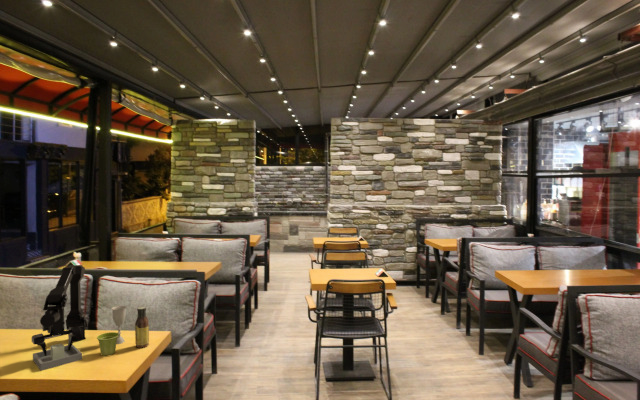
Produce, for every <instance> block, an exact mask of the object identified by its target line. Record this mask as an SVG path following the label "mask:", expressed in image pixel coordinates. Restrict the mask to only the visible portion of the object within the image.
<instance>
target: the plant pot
mask: <svg viewBox="0 0 640 400" xmlns="http://www.w3.org/2000/svg"><path fill="white" fill-rule="evenodd" d="M118 336H119V333H118V332H116V331H111V332H110V331H109V332H105V333H100V334H98V335H97V336H96V339H97V341H98V344H99V345H98V346H99V350H100V355H101V356H110V355H113V354H115V353H116V349H117V344H116V343H117V338H118Z"/></svg>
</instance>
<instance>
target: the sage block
mask: <svg viewBox="0 0 640 400" xmlns="http://www.w3.org/2000/svg"><path fill="white" fill-rule="evenodd" d="M64 346H65V345H64V344H63V343H62V342H60V343H57V344H52V345H50V347H49V350H50V355H51V360H55V359H59V358H63V357H64Z"/></svg>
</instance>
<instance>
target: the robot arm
mask: <svg viewBox="0 0 640 400" xmlns="http://www.w3.org/2000/svg"><path fill="white" fill-rule="evenodd" d="M85 273H86V268H85V266H83V265H82V264H80V265H67V266H65V267H63V268H62V270H61V274H60V276H59V279H58V281H57V283H56V285H55V287H54V288H53V289H51V290H50V291H49V293H48V295H47V296H46V298H45V300H44V301H45V302H44V305H43V308H42V310H43V311H45V312H44V315H42V316H41V317H40V320H39V323H40V325H41V326H42V327H41V328H42V332H46V331H47V334H43V333H42V332H41V333H38V334H34V335H32V336H31V343H33V345H36V346H40V348H41V350H42V351H43V353H44V355H45V356H46V355H47V352H46V350H47V344H46V341H45V340H48V339H53V338H56V337H58V338H59V337H62V336H67V337H68V339H67V340H68V342H67V345H68V350H70V348H71V346H72V344H73V343H75V342H79V341H80V342H81V341H84V340H86V339H87V337H86V328H88V324H89V320H88V319H87V317H86V316H85V312H84V310H83V309H82V307H81V306H82V304H81V303H82V302H81V301H82V299H81V298H82V296H81V290H82V289H81V286H82V285H81V281H82V280H83V278H84V275H85ZM68 288H69V296H70V297H69V298H70V299H69V298H68V295H67V294H68V293H67V290H68ZM68 299H69V301H70V303H69V304H70V305H69V307H70V311H69V312H68V314H67V315H66V319H65V307H66V305H67V302H68ZM65 327H66V330H65Z"/></svg>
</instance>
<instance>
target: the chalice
mask: <svg viewBox="0 0 640 400" xmlns="http://www.w3.org/2000/svg"><path fill="white" fill-rule="evenodd" d="M126 309H127V306H125V305H118V306H113V307H111V311H112V319H113V322H114V324H115V325H116V326H117V331H118V332H117V333H119V336H118V338H117V343H116V345H121V344H123V342H124V343H125V342H126V341H125V339H124V337H123V336H121V334H122V332H121V330H122V328H121V327H122V325H123V324H124V322H125V320H126V313H127V311H126Z"/></svg>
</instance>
